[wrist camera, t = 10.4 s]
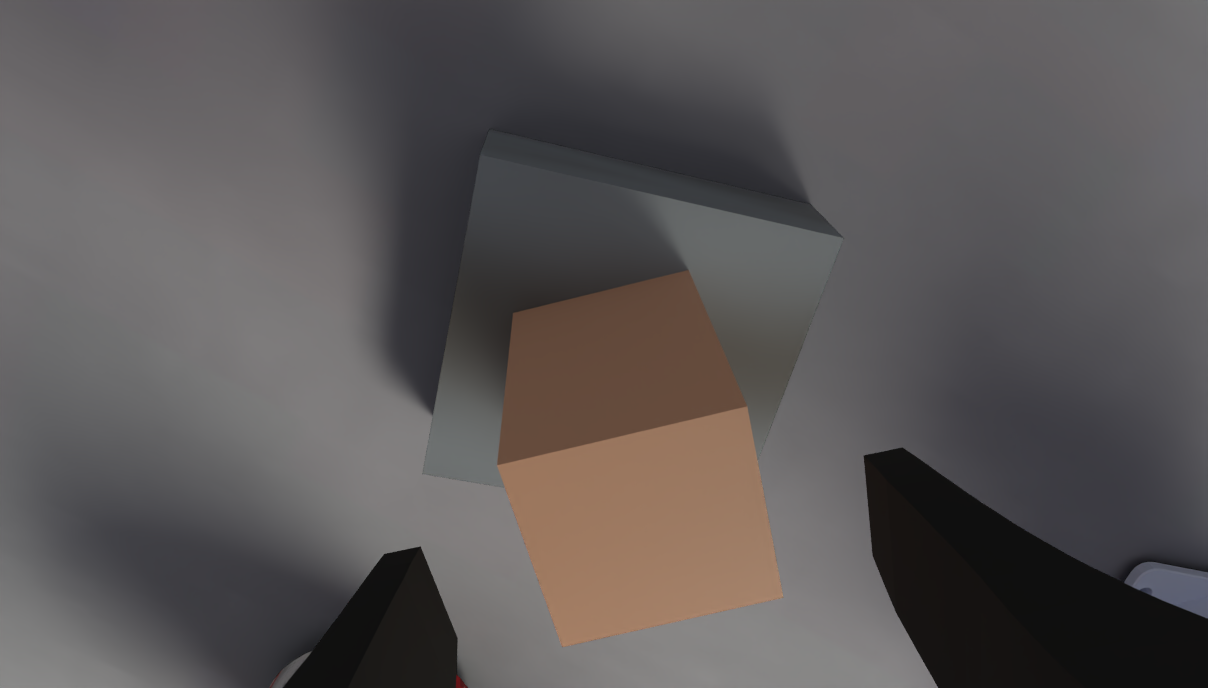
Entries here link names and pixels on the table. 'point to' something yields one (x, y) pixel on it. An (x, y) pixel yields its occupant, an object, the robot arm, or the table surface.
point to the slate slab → (618, 276)
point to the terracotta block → (633, 462)
